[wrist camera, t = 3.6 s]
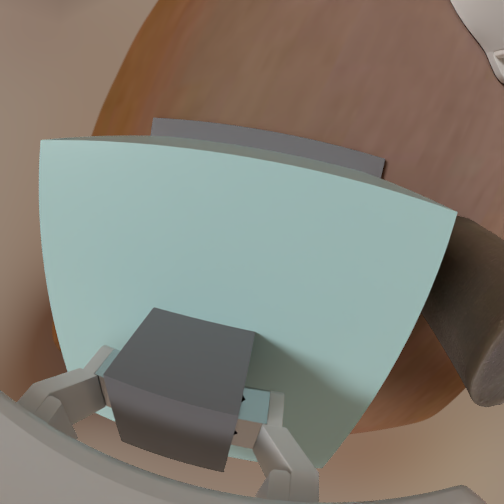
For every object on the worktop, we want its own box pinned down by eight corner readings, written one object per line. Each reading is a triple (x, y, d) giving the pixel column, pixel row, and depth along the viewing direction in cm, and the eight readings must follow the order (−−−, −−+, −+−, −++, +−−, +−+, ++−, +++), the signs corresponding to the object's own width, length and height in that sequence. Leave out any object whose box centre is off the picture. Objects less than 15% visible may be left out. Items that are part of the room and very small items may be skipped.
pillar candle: (394, 234, 23) (489, 342, 9) (480, 202, 21) (595, 266, 7) (410, 322, 26) (466, 441, 12) (485, 289, 23) (563, 378, 9)
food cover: (363, 172, 21) (530, 253, 4) (314, 340, 27) (322, 521, 10) (166, 136, 22) (-35, 151, 5) (154, 304, 28) (51, 446, 11)
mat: (383, 158, 21) (385, 159, 20) (324, 351, 28) (324, 353, 27) (155, 118, 22) (153, 117, 21) (143, 311, 29) (141, 313, 28)
